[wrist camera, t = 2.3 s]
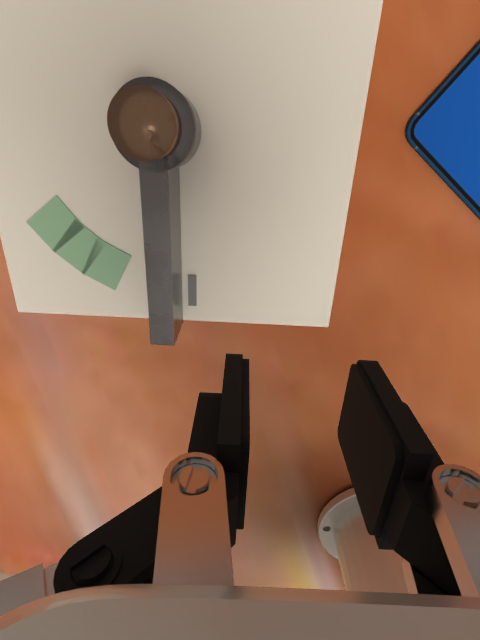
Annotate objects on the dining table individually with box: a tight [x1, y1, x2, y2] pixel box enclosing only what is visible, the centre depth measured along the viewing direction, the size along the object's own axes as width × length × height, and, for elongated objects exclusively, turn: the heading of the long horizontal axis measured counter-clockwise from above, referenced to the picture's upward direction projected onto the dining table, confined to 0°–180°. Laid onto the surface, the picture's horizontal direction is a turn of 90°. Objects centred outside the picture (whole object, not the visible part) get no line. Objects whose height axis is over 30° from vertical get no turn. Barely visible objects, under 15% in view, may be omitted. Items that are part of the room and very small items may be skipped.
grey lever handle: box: [107, 76, 201, 345], centre depth 22 cm, size 15×4×6 cm, turn 177°
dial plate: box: [0, 0, 383, 327], centre depth 24 cm, size 24×22×2 cm
